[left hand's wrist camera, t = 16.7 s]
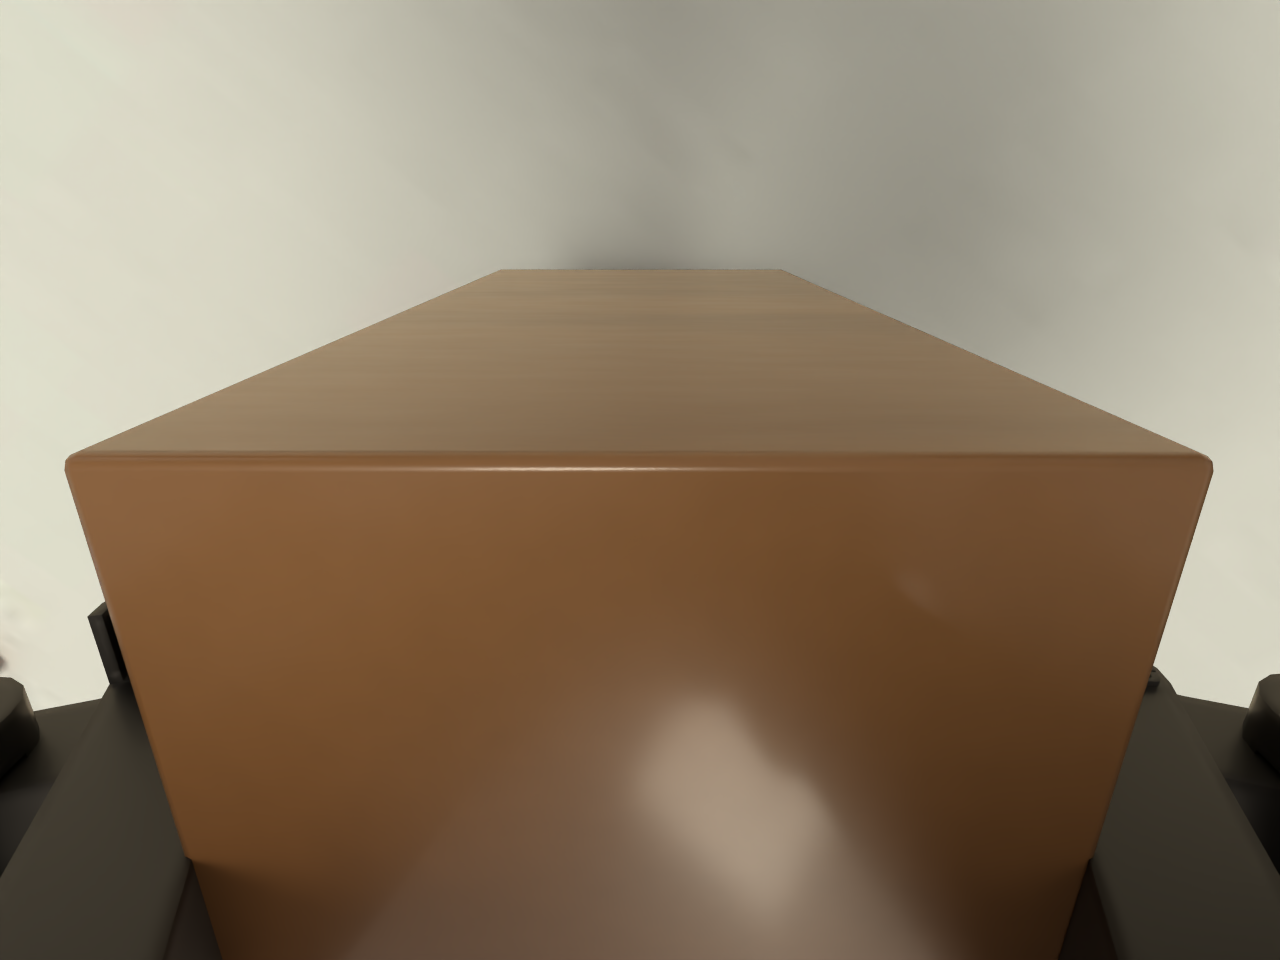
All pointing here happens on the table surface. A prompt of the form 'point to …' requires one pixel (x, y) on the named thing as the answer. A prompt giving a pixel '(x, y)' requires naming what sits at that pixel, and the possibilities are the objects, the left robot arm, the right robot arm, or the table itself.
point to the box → (639, 629)
